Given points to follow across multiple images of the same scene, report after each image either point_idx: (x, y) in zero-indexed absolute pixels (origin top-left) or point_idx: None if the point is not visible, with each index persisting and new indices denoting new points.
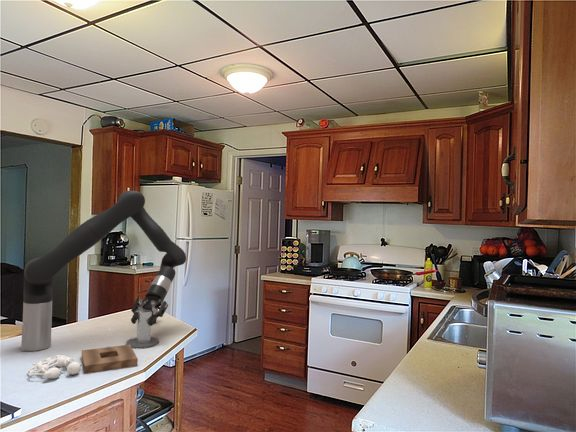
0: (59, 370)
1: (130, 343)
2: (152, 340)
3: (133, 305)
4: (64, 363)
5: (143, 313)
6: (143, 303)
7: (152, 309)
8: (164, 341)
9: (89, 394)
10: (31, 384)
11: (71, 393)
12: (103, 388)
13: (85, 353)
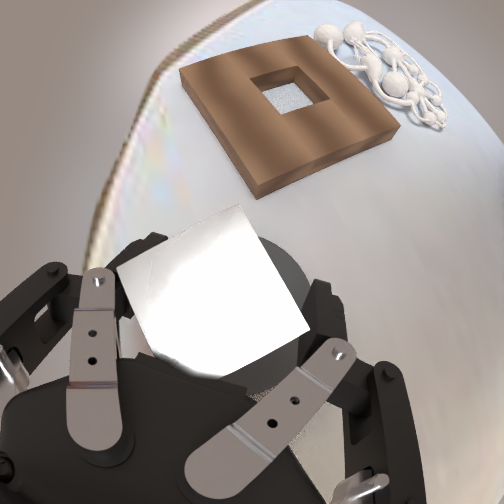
0: (347, 31)
1: (284, 274)
2: None
3: (411, 423)
4: (359, 41)
5: (202, 226)
6: (275, 434)
7: (109, 309)
8: (132, 355)
9: (241, 4)
10: None
11: (274, 6)
12: (225, 14)
13: (370, 99)
